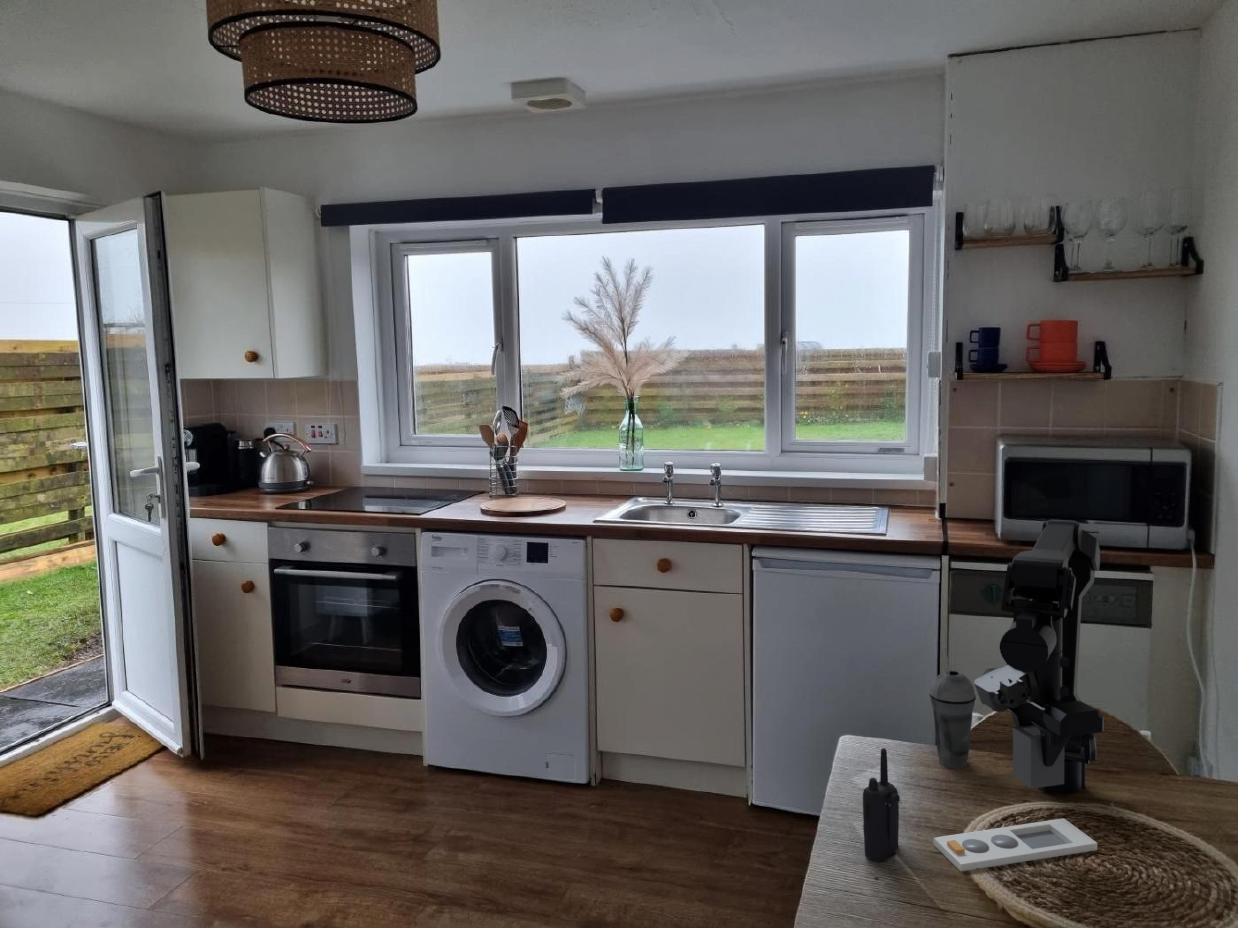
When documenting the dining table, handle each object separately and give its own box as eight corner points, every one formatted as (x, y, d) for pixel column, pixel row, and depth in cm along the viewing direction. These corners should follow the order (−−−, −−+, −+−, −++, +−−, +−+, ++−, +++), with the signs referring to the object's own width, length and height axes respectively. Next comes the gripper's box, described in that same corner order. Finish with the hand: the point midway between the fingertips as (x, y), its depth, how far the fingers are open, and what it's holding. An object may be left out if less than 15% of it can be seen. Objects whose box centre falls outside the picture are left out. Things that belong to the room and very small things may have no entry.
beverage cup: (979, 772, 152) (979, 653, 149) (932, 770, 153) (931, 652, 151) (972, 753, 159) (971, 639, 157) (927, 751, 160) (926, 639, 158)
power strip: (1063, 831, 133) (1063, 814, 132) (1097, 856, 126) (1097, 838, 125) (933, 851, 129) (933, 833, 129) (960, 878, 122) (960, 859, 122)
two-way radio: (885, 843, 132) (883, 741, 130) (911, 856, 128) (909, 752, 126) (858, 856, 129) (856, 752, 127) (884, 870, 125) (882, 763, 123)
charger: (1045, 771, 130) (1045, 722, 129) (1064, 783, 126) (1064, 733, 125) (1012, 775, 129) (1012, 726, 128) (1030, 788, 125) (1030, 738, 124)
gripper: (946, 634, 133) (947, 739, 135) (1026, 678, 115) (1026, 798, 117) (1017, 626, 135) (1017, 729, 137) (1107, 668, 117) (1105, 786, 119)
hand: (1038, 759), depth 127 cm, fingers closed on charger, 4 cm apart
